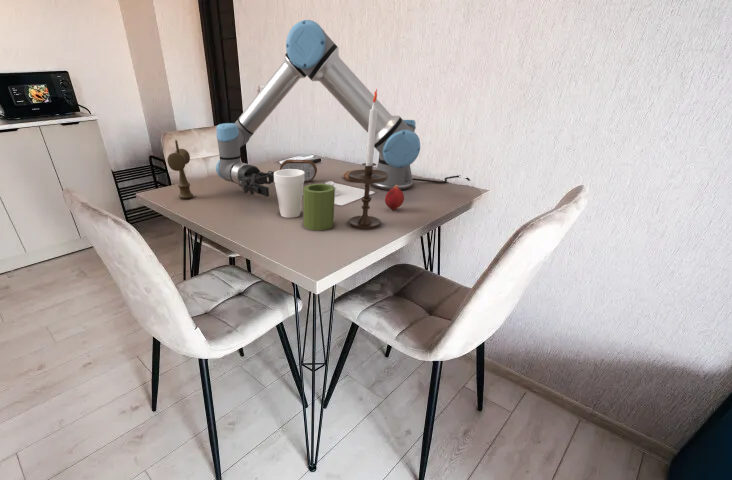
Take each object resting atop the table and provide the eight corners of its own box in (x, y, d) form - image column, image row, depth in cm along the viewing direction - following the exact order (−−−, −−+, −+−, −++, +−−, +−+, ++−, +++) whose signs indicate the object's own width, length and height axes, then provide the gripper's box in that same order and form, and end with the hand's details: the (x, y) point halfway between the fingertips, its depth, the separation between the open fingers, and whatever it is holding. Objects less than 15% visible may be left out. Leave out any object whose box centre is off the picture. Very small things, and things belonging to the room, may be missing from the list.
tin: (316, 180, 153) (317, 158, 148) (316, 182, 150) (316, 160, 146) (280, 180, 154) (279, 159, 150) (279, 182, 152) (278, 161, 147)
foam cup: (305, 219, 115) (304, 176, 108) (275, 219, 116) (273, 177, 109) (304, 209, 123) (304, 168, 116) (276, 209, 124) (274, 169, 117)
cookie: (347, 182, 149) (347, 175, 147) (340, 176, 158) (340, 168, 156) (371, 181, 150) (372, 173, 148) (363, 174, 159) (363, 167, 157)
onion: (391, 214, 117) (394, 188, 113) (380, 209, 121) (382, 184, 117) (406, 211, 119) (409, 185, 115) (394, 206, 123) (397, 181, 119)
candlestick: (361, 214, 117) (371, 87, 98) (390, 223, 110) (406, 87, 92) (338, 224, 111) (344, 89, 92) (367, 233, 104) (380, 90, 85)
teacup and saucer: (329, 188, 142) (329, 178, 140) (346, 192, 137) (346, 181, 135) (314, 194, 137) (314, 182, 135) (330, 198, 132) (330, 186, 130)
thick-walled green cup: (334, 220, 114) (335, 183, 108) (332, 231, 107) (333, 192, 101) (306, 219, 115) (305, 183, 110) (301, 229, 108) (301, 192, 102)
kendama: (174, 202, 134) (163, 142, 123) (181, 194, 142) (170, 137, 131) (191, 201, 134) (181, 142, 123) (197, 193, 142) (187, 137, 131)
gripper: (275, 179, 139) (314, 191, 125) (217, 193, 126) (253, 208, 112) (274, 158, 135) (314, 168, 121) (214, 170, 122) (251, 183, 108)
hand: (285, 187), depth 117 cm, fingers open, 13 cm apart
